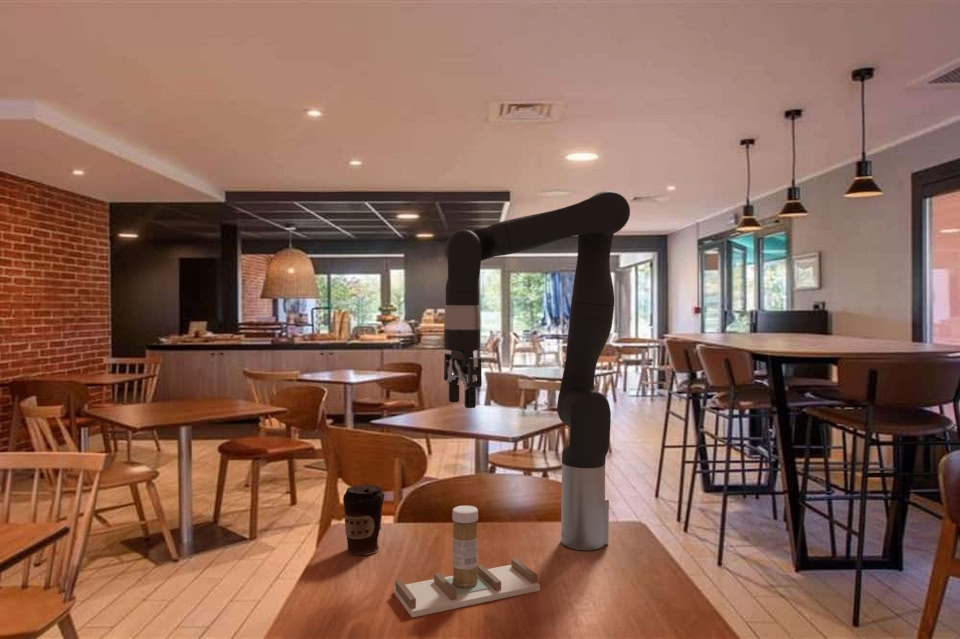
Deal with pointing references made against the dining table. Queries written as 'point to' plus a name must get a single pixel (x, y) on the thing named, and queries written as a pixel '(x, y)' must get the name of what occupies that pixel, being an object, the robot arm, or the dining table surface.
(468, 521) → the sprinkles bottle
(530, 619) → the dining table surface
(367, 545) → the coffee cup
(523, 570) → the rack
